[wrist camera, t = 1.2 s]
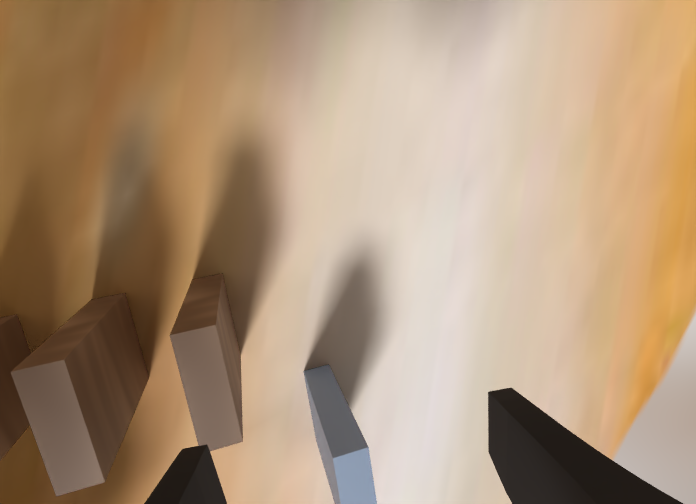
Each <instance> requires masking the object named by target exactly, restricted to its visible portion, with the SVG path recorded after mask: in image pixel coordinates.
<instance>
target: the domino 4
mask: <svg viewBox="0 0 696 504" xmlns="http://www.w3.org/2000/svg"><path fill="white" fill-rule="evenodd" d="M170 338H171V342H172V346H173V349H174V353H175V357H176V361H177V365H178V369H179V372H180V376H181V380H182V384H183V388H184V391H185V395H186V399H187V403H188V407H189V411H190V414H191V418H192V422H193V426H194V430H195V434H196V437H197V441H198V445H199V446H201V445H206V444H207V445H208V448H209V451H212V450H216V449H219V448H223V447H226V446H229V445H233V444H236V443H240V442H243V431H242V390H241V355H240V350H239V346H238V341H237V337H236V332H235V328H234V323H233V319H232V314H231V309H230V305H229V300H228V296H227V291H226V287H225V282H224V278H223V273H222V274H217V275H212V276H207V277H202V278H197V279H192V282H191V284H190V287H189V289H188V292H187V294H186V297H185V299H184V301H183V304H182V306H181V309H180V311H179V314H178V316H177V319H176V321H175V324H174V326H173V329H172V331H171V334H170Z"/></svg>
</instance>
